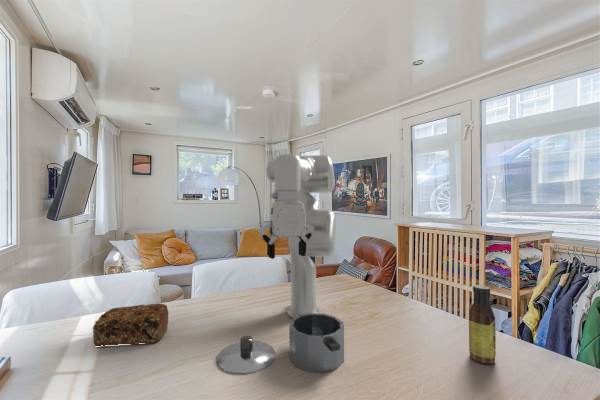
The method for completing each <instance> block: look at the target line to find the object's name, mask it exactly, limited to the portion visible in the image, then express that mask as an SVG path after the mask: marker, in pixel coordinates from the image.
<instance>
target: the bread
mask: <svg viewBox="0 0 600 400" xmlns="http://www.w3.org/2000/svg"><path fill="white" fill-rule="evenodd" d="M168 324H169V309H168V306H167V305H166V304H163V303H150V304H138V305H132V306H129V305H128V306H121V307H113V308H110V309H108V310H107V311H106V312H104V313H103V314H102V313H101V315H100V316H99V318H98V319H97V320H96V321H95V322H94V325H93V327H92V333H93V334H92V335H93V339H92V340H93V345H94V347H95V346H101V345H103V346H105V345H118V344H139V343H151V344H153V343H152V342H156V343H158V342H159V341H161V340H162V338H163V337H164V336H165V335H164V334H166V333H167V330H168V327H169V325H168ZM165 332H166V333H165ZM162 336H163V337H162ZM160 339H161V340H160Z"/></svg>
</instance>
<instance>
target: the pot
mask: <svg viewBox="0 0 600 400" xmlns="http://www.w3.org/2000/svg"><path fill="white" fill-rule="evenodd" d="M288 327H289V328H288V329H289V330H288V331H289V334H288V335H289V342H288V343H289V345H288V350H289V353H288V355H289V356H288V359H289V360H290V362H291V363H292V364H293V366H294V367H296V368H297V369H300V370H303V371H304V372H307V373H318V374H319V373H320V374H323V373H327V372H331V371H334V370H338V369H339V367H340V366H341V365H342V364H344V362H345V324H344V321H343V320H341V319H340V318H338V317H337V316H335V315H331V314H327V313H323V312H322V313H321V312H320V313H309V314H303V315H298V316H297V317H295V318H291V319H290V323H289V325H288Z"/></svg>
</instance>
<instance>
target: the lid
mask: <svg viewBox="0 0 600 400" xmlns="http://www.w3.org/2000/svg"><path fill="white" fill-rule="evenodd" d="M253 339H254V337H253V336H251V335H244V336H242V337H240V339H239V340H240V341H238V342H235V343H232V344H229V345H227V346H225V347H224V348H223V349H222V350H221V351H219V353H218V354H217V357H216V363H218V364H217V366H218V365H219V366H218V368H220V369H221V370H222V369H223V370H222V371H224V370H225V371H224V372H226V371H227V373H229V372H230V373H229V374H233V373H234V374H233V375H248V374H247V373H249V374H253V372H254V373H257V372H260V371H262V370H264V369H266V368H268V367H269V366H270V365H271V364H272V363H273V362H274V361H275V359H276V358H275V357H276V350H275V348H274V347H273V346H272V345H271V344H269V343H268V342H265V341H261V340H253ZM274 358H275V359H274ZM273 360H274V361H273ZM268 365H269V366H268ZM267 366H268V367H267ZM265 367H266V368H265ZM261 369H262V370H261ZM259 370H260V371H259ZM256 371H257V372H256Z"/></svg>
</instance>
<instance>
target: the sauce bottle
mask: <svg viewBox="0 0 600 400" xmlns="http://www.w3.org/2000/svg"><path fill="white" fill-rule="evenodd" d="M472 291H473V303H472V304H471V306H470V307H469V310H468V351H469V356H470V358H471V359H472V360H473V361H475V362H478V363H480V364H486V365H491V364H494V363H495V362H496V355H497V354H496V352H497V350H496V348H497V347H496V346H497V345H496V338H497V337H496V336H497V335H496V334H497V333H496V332H497V331H496V316H495V313H494V311H493V308H492V305H491V302H490V298H491V297H490V294H491V288H490V287H489V286H486V285H482V284H481V285H480V284H474V285H472Z"/></svg>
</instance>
